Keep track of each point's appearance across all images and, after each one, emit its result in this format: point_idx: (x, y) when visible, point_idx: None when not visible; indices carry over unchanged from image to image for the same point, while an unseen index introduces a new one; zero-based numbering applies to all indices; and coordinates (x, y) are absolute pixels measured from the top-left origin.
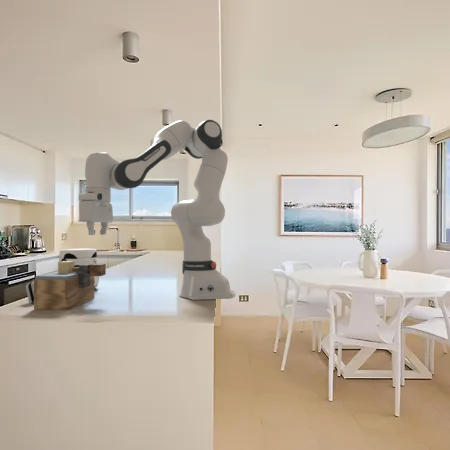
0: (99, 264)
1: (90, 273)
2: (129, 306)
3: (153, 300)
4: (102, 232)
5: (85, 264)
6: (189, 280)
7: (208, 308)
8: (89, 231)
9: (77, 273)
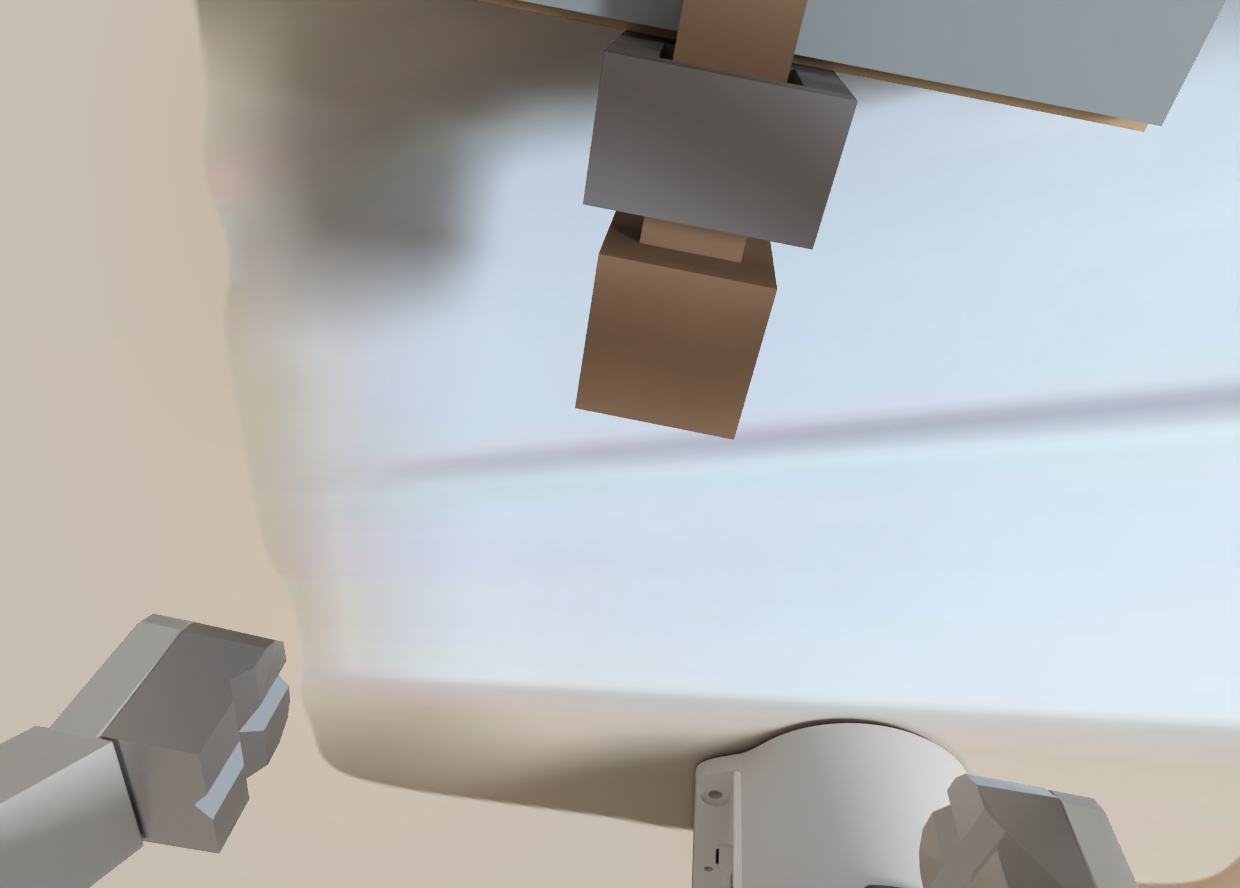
0: (651, 376)
1: (614, 218)
2: (552, 450)
3: (739, 580)
4: (968, 871)
5: (709, 147)
6: (756, 868)
7: (482, 792)
8: (92, 707)
9: (632, 9)
